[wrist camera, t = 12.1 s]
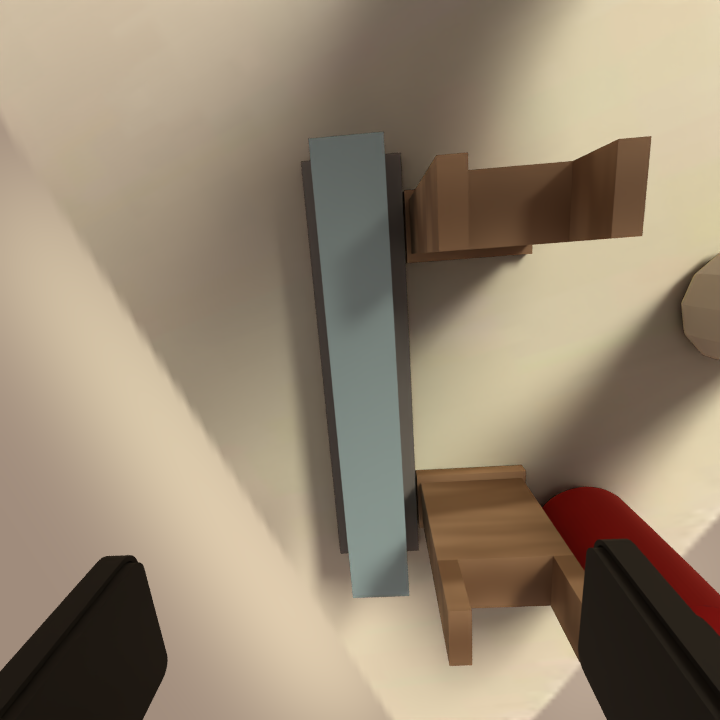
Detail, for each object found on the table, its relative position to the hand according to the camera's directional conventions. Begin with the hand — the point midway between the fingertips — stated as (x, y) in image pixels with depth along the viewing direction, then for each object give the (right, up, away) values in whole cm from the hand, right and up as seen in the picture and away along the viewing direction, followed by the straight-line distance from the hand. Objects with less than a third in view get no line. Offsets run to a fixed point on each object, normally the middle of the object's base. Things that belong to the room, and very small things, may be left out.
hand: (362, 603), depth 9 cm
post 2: (+8, -4, +20) cm, 22 cm away
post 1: (+6, +13, +15) cm, 21 cm away
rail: (0, +4, +17) cm, 18 cm away
